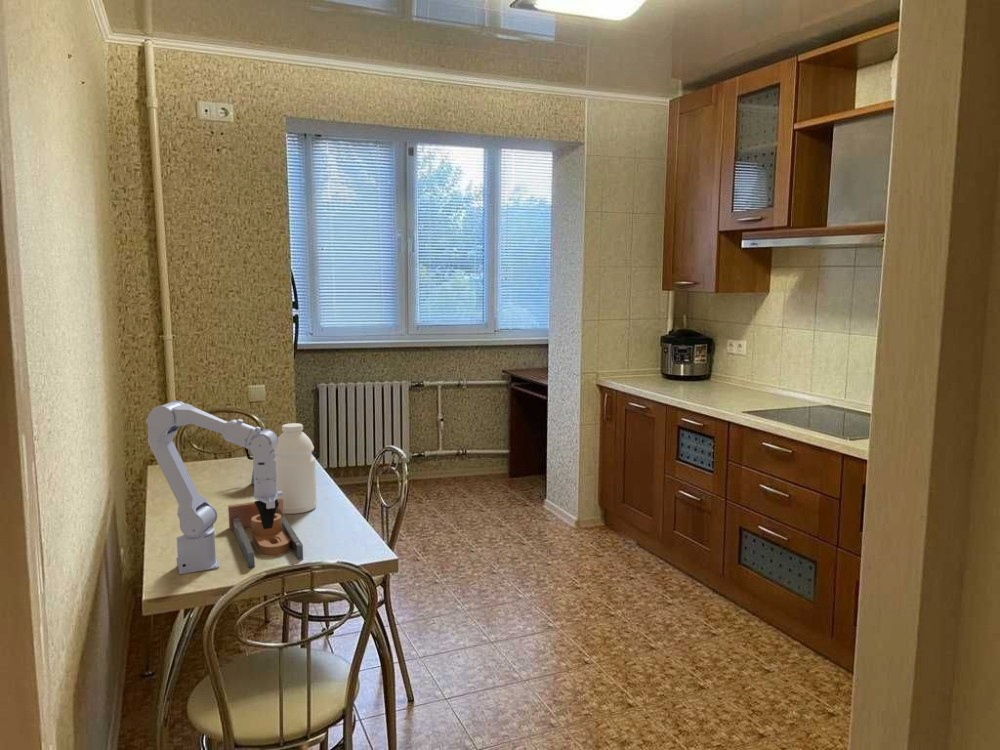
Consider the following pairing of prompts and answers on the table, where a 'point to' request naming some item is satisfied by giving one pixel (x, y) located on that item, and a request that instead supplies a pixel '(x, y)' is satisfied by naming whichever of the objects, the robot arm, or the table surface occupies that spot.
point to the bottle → (295, 470)
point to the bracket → (269, 537)
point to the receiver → (242, 518)
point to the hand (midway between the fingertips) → (267, 527)
